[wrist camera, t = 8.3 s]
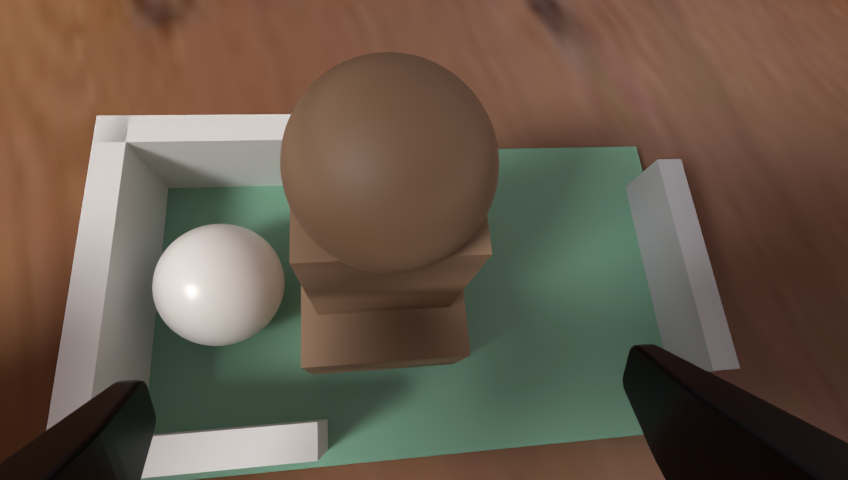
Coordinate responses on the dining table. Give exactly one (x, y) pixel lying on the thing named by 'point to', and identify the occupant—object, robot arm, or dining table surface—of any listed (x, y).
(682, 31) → the dining table surface
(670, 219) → the pitch
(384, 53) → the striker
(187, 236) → the ball
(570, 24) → the dining table surface
